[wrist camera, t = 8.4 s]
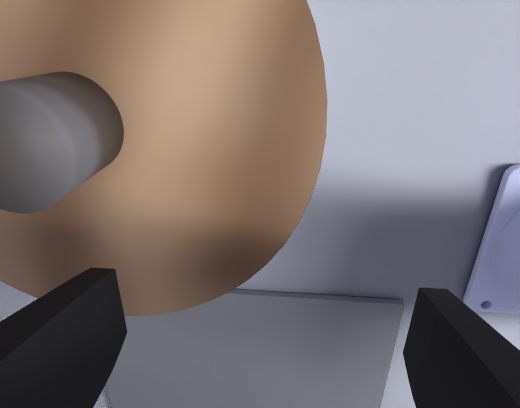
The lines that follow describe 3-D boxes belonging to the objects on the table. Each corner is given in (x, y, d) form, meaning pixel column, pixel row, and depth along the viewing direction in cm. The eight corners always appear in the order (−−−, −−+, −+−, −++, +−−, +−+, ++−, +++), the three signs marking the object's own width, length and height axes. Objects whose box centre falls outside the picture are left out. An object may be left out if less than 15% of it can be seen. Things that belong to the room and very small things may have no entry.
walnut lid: (392, -148, 8) (461, -274, 5) (277, 331, 15) (272, 421, 11) (-245, -257, 8) (-609, -452, 5) (-81, 266, 15) (-191, 335, 12)
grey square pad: (402, 299, 20) (404, 304, 19) (359, 486, 28) (360, 493, 27) (84, 279, 21) (80, 283, 21) (128, 464, 29) (126, 469, 28)
